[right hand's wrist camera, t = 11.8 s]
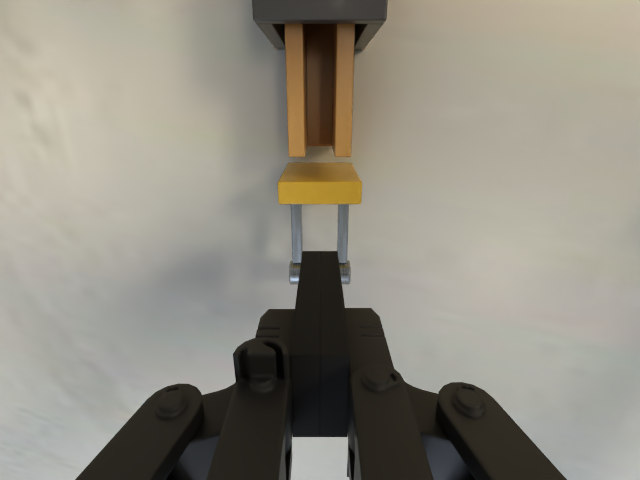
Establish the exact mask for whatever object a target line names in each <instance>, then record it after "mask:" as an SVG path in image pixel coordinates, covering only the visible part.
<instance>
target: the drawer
mask: <svg viewBox="0 0 640 480" xmlns="http://www.w3.org/2000/svg"><path fill="white" fill-rule="evenodd" d="M354 42H355V24H285V54H286V85H287V117H288V148H289V157H304V156H305V153H306V150H307V147H308V146H332V148H333V151H334V154H335V157H351V137H352V105H353V73H354ZM361 195H362V182H361V180H360V178H359V176H358V174H357V173H356V171H355V169H354V167H353V165H352V163H288V165H287V167H286V168H285V170H284V172H283V174H282V176H281V177H280V179H279V181H278V202H279V204H291V222H292V254H293V261H290V267H289V280H290V284H298V282H299V274H300V266H301V257H302V204H338V236H337V251H338V257H339V266H340V274H341V282H342V284H350V262H349V261H347V244H348V212H349V204H361Z"/></svg>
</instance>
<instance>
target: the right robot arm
mask: <svg viewBox="0 0 640 480" xmlns="http://www.w3.org/2000/svg"><path fill="white" fill-rule="evenodd" d="M233 359H234V368H235V377H236V383H235V384H233V385H231V386H230V387H228V388H226V389H223V390H220V391H217V392H213V393H209V394H205V395H202V394H201V392H200V391H199V390H198V388H197V387H195V386H192V385H190V384H175V385H171V386H167V387H165V388H163V389H161V390H159V391H157V392H155V393H154V394H153V395H152V396H151V397H150V398H148V399H147V400H146V401H145V403H144V404H143V405H142V406H141V407H140V408H139V409H138V410H137V411H136V413H135V414H134V415H133V416H132V417H131V418H130V419H129V420H128V422H127V423H126V424H125V425H124V426H123V427H122V428H121V429H120V430H119V432H118V433H117V434H116V435H115V436H114V437H113V438H112V439H111V440H110V442H109V443H108V444H107V445H106V446H105V447H104V448H103V449H102V451H101V452H100V453H99V454H98V455H97V456H96V457H95V458H94V459H93V461H92V462H91V463H90V464H89V465H88V466H87V467H86V468H85V469H84V471H83V472H82V473H81V474H80V475H79V476H78V477H77V478H76V480H290V478H291V465H292V434H293V437H347V434H348V464H347V477H349V478H350V480H567V479H566V478H565V477H564V476H563V475H562V474H561V473H560V472H559V471H558V469H557V468H556V467H555V466H554V465H553V464H552V463H551V462H550V461H549V459H548V458H547V457H546V456H545V455H544V454H543V453H542V452H541V451H540V449H539V448H538V447H537V446H536V445H535V444H534V443H533V442H532V441H531V440H530V438H529V437H528V436H527V435H526V434H525V433H524V432H523V431H522V430H521V428H520V427H519V426H518V425H517V424H516V423H515V422H514V421H513V420H512V418H511V417H510V416H509V415H508V414H507V413H506V412H505V411H504V410H503V408H502V407H501V406H500V405H499V404H498V403H497V402H496V401H495V400H494V398H492V397H491V396H490V395H489V394H488V393H487V392H485V391H484V390H482V389H480V388H478V387H476V386H474V385H471V384H467V383H463V382H455V383H449V384H447V385H445V386H443V387H442V389H441V390H440V391H439V394H437V393H433V392H429V391H425V390H421V389H418V388H415V387H413V386H411V385H409V384H407V383H406V382H405V381H404V380H403V378H402V377H401V375H400V373H398V372H397V371H396V370H395V369H394V367H393V363H392V360H391V356H390V353H389V349H388V345H387V342H386V338H385V336H384V331H383V328H382V324H381V321H380V317H379V316H378V315H377V314H376V313H375V312H374V311H373V310H372V309H371V308H345V306H344V298H343V290H342V282H341V274H340V266H339V257H338V251H302V257H301V266H300V274H299V282H298V290H297V298H296V306H295V309H269V310H268V311H267V312H266V313H265V314H264V315H263V316H262V317H261V318H260V322H259V326H258V330H257V333H256V338H254V339H251V340H249V341H246V342H244V343H243V344H241V345H240V346H239V347H237V349H236V350H235V352H234V354H233Z"/></svg>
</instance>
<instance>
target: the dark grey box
mask: <svg viewBox="0 0 640 480" xmlns="http://www.w3.org/2000/svg"><path fill="white" fill-rule="evenodd" d="M252 7H253V19H254V21H255V22H256V24H257V25H258V26H259V28H260V29H261V30H262V31H263V33H264V34H265V35H266V37H267V38H268V39H269V41H270V42H271V43H272V44H273V46H274V48H275V49H276V50H278V49H285V24H355V42H354V49H362V50H364V49H365V47H366V46H367V44H368V43H369V42H370V40H371V39H372V38H373V36H374V35H375V34H376V33H377V31H378V30H379V29H380V27H381V26H382V25H383V23H384V22H385V21H386V17H387V0H252Z"/></svg>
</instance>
